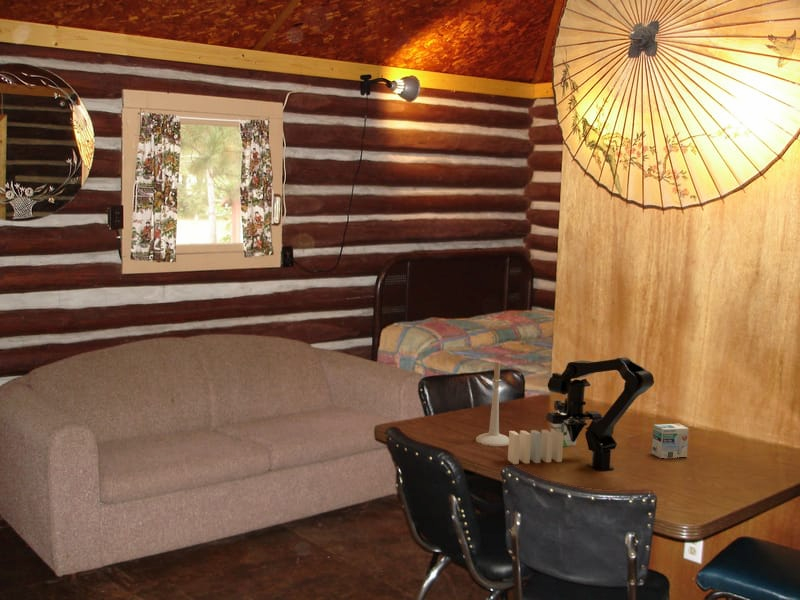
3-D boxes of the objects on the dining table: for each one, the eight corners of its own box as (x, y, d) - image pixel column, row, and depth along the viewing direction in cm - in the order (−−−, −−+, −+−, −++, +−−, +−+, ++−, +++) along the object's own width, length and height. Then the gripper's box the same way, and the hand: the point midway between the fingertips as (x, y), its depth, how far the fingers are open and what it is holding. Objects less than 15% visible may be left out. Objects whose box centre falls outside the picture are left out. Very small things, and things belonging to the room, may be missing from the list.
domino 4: (551, 462, 305) (552, 433, 303) (546, 462, 304) (548, 433, 303) (544, 457, 309) (546, 429, 308) (540, 458, 309) (541, 429, 308)
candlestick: (470, 437, 332) (473, 357, 328) (501, 435, 336) (505, 356, 333) (485, 447, 320) (489, 364, 316) (517, 444, 324) (521, 363, 321)
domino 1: (518, 463, 301) (520, 434, 300) (513, 464, 301) (515, 435, 300) (512, 459, 306) (514, 430, 305) (507, 459, 306) (509, 431, 304)
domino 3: (540, 462, 304) (541, 433, 302) (535, 463, 303) (537, 434, 302) (534, 458, 308) (535, 430, 307) (529, 458, 308) (530, 430, 307)
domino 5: (561, 461, 306) (563, 433, 305) (557, 461, 305) (558, 433, 304) (555, 457, 311) (557, 429, 309) (550, 457, 310) (552, 429, 309)
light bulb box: (660, 459, 313) (663, 429, 312) (650, 453, 320) (652, 424, 319) (687, 457, 316) (690, 428, 315) (677, 452, 323) (679, 423, 321)
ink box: (557, 447, 323) (559, 415, 322) (549, 443, 327) (551, 412, 326) (576, 445, 327) (578, 413, 326) (568, 441, 331) (570, 410, 330)
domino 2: (529, 463, 302) (531, 434, 301) (524, 463, 302) (526, 434, 301) (523, 458, 307) (525, 430, 306) (518, 459, 307) (520, 430, 305)
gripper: (588, 391, 317) (586, 434, 319) (540, 392, 312) (538, 436, 314) (604, 398, 307) (601, 443, 309) (554, 400, 301) (552, 445, 303)
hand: (572, 441), depth 309 cm, fingers closed
